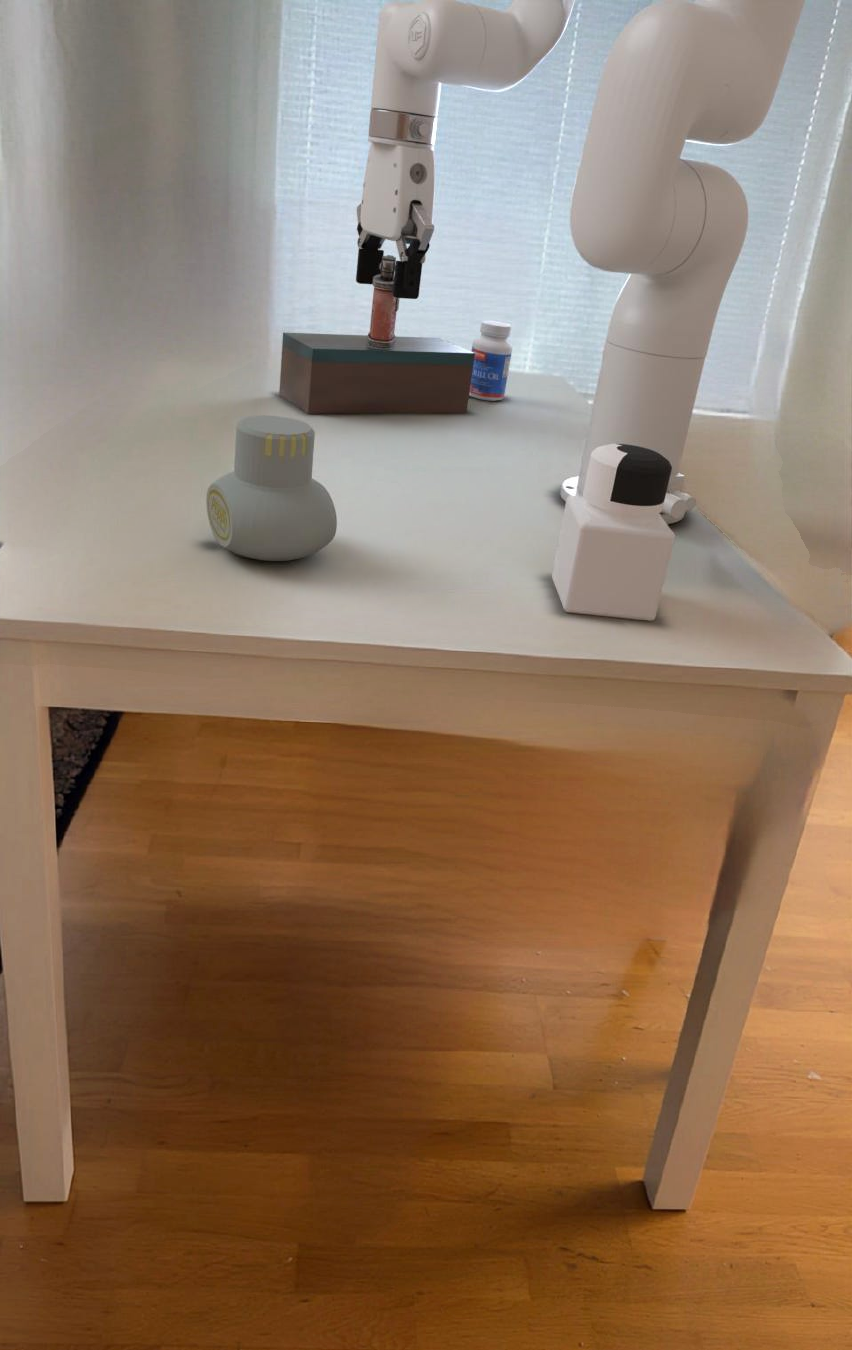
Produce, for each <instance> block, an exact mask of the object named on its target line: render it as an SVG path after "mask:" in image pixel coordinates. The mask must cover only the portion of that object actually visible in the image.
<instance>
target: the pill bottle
mask: <svg viewBox="0 0 852 1350" xmlns="http://www.w3.org/2000/svg"><path fill="white" fill-rule="evenodd" d="M511 329H512V325H511V324H509V323H507V322H506V323H505V322H502V321H497V320H488V319H487V320H486V319H485V320H482V321H481V323H480V329H479V333H481V334H480V336H477V337H475V338H474V340H473V341H472V345H471V350H470V351H471V352H473V353H475V358H474V365H473V372H472V379H471V386H470V393H469V397H471V398H473V399H478V400H482V401H489V402H494V401H495V402H496V401H501V400H503V399H504V397H505V393H506V388H507V382H508V377H509V371H510V366H511V359H512V353H513V345H512V343H511V342H510V341H508V338H509V337H510V335H511Z"/></svg>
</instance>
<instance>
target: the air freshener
mask: <svg viewBox="0 0 852 1350" xmlns="http://www.w3.org/2000/svg"><path fill="white" fill-rule="evenodd" d="M235 431H236V432H235V448H234V449H235V450H234V467H233V471H230V472H227V473H226V474H224V475H222V476H219V478H217V479H216V480H215V481H213V482H212V483H211V484H210V485H208V488H207V492H206V502H205V503H206V513H207V520H208V523H209V527H210V529H211V533H212V534H213V536H214V538H215V540H216V541H217V543H218V544H219V545H220V546H222V548H224V549H226V550H228V551H230V552H232V553H233V554H235V555H237V556H239V557H242V558H247V559H252V560H256V561H263V562H289V561H297V560H299V559H303V558H306V557H309V556H311V555H313V554H316V553H317V552H320V551H321V550H323V549H324V548H326V547H327V546H329V544H330V543H331V542H332V541H333V540H334V539H335V536H336V533H337V527H338V519H337V512H336V508H335V503H334V501H333V498H332V497H331V494H330V492H329V491H328V490H327V489H326V487H325V485H323V484H321V482H319V481H318V480H316V479H315V478H313V467H314V466H313V465H314V452H315V436H316V431H315V430H314V429H313V427H312V426H311V425H310V424H308V423H307V422H305V421H302V420H299V419H295V418H291V417H286V416H279V415H251V416H247V417H243V418H241V420H240V421H239V422H237V424H236V430H235Z"/></svg>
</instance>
